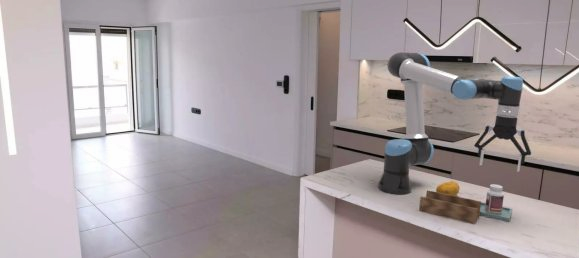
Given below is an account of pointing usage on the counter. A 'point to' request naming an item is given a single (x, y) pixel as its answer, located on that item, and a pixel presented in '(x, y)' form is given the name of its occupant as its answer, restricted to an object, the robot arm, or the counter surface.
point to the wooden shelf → (450, 206)
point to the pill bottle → (494, 199)
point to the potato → (448, 188)
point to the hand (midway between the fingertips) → (499, 167)
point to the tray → (503, 215)
